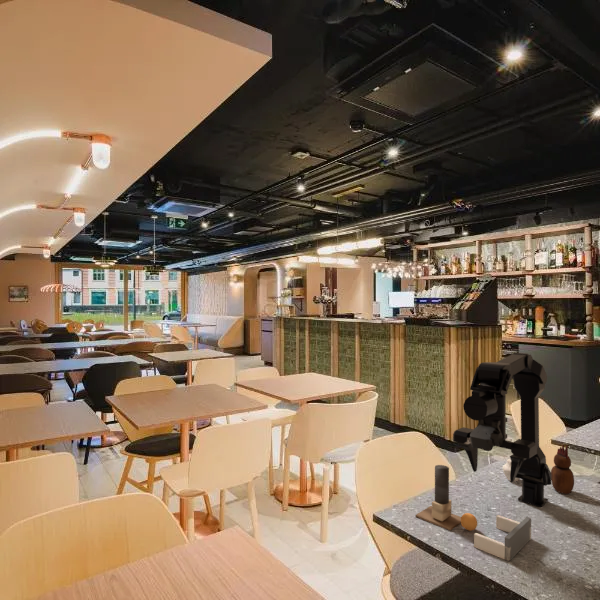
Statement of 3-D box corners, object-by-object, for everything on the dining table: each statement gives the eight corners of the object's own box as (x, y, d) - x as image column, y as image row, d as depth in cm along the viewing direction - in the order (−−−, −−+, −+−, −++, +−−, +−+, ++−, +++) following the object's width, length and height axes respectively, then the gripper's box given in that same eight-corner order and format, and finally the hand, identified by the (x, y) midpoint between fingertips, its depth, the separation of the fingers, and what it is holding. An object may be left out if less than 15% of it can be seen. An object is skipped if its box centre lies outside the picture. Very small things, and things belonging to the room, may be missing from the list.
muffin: (498, 476, 147) (498, 455, 147) (515, 476, 148) (516, 455, 148) (509, 484, 141) (509, 462, 141) (527, 483, 141) (527, 461, 142)
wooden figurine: (577, 496, 132) (577, 446, 132) (556, 495, 133) (556, 445, 133) (568, 487, 138) (568, 440, 138) (548, 486, 139) (548, 439, 140)
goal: (497, 526, 113) (497, 507, 113) (531, 538, 108) (531, 518, 108) (474, 547, 104) (474, 525, 104) (509, 561, 98) (509, 538, 98)
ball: (464, 524, 115) (464, 508, 115) (480, 529, 112) (480, 514, 112) (457, 529, 112) (457, 513, 112) (473, 535, 109) (473, 519, 109)
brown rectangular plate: (430, 507, 124) (430, 505, 124) (464, 520, 117) (464, 518, 117) (415, 516, 118) (415, 514, 118) (450, 530, 111) (450, 528, 111)
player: (440, 510, 120) (440, 463, 120) (452, 515, 118) (452, 466, 118) (430, 516, 117) (431, 467, 117) (443, 521, 114) (443, 471, 114)
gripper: (442, 412, 111) (442, 474, 110) (520, 426, 97) (520, 497, 97) (462, 405, 118) (462, 463, 118) (537, 418, 105) (537, 484, 105)
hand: (493, 476), depth 109 cm, fingers open, 9 cm apart
